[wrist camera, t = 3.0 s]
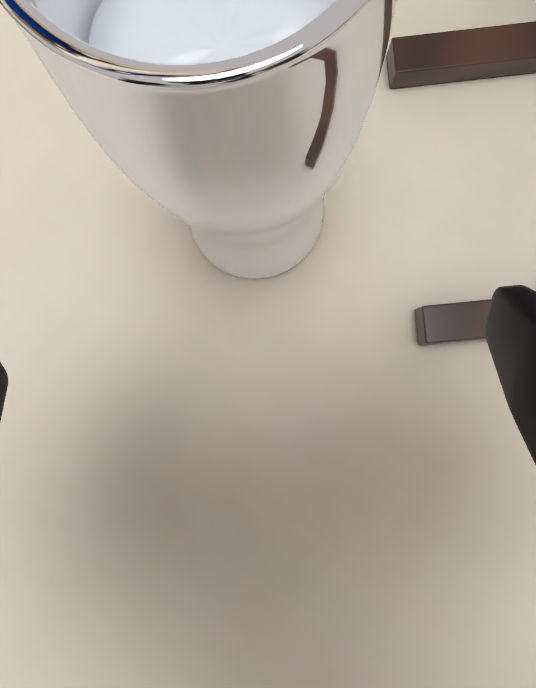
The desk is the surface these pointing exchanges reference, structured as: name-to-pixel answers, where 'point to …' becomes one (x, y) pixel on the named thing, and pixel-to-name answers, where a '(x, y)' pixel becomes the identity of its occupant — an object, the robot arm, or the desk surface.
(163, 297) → the desk surface
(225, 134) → the beer glass
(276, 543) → the desk surface
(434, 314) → the frame
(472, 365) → the desk surface
